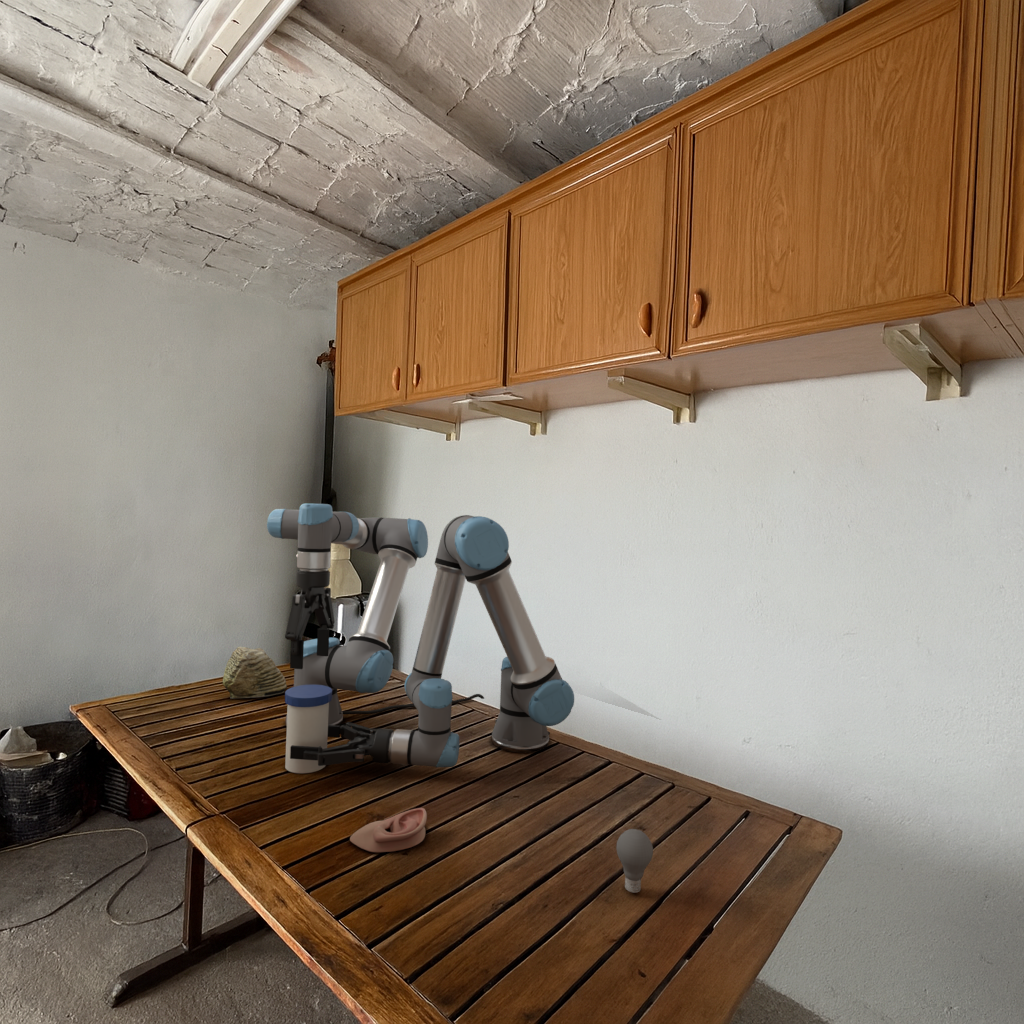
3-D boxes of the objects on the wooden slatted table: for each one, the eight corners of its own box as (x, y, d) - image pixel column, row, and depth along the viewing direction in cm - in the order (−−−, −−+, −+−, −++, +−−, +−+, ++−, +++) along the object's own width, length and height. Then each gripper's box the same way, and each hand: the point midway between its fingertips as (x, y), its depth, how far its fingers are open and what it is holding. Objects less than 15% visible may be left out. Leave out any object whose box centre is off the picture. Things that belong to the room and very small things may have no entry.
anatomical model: (342, 825, 115) (369, 797, 126) (341, 847, 115) (368, 817, 126) (412, 836, 112) (433, 806, 123) (411, 859, 112) (432, 826, 123)
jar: (283, 759, 151) (286, 688, 151) (323, 754, 155) (326, 685, 155) (286, 775, 143) (289, 700, 143) (329, 770, 147) (331, 697, 146)
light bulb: (610, 879, 108) (613, 822, 108) (644, 879, 109) (647, 822, 109) (619, 902, 102) (622, 840, 102) (655, 901, 103) (658, 840, 103)
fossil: (218, 695, 195) (220, 647, 195) (278, 685, 208) (279, 640, 207) (228, 703, 189) (230, 653, 188) (289, 692, 201) (290, 645, 201)
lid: (283, 695, 152) (283, 686, 152) (328, 691, 156) (329, 683, 156) (286, 709, 142) (286, 699, 142) (334, 705, 146) (335, 695, 146)
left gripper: (323, 563, 161) (319, 649, 161) (270, 573, 137) (266, 673, 138) (350, 565, 159) (347, 651, 160) (302, 576, 136) (298, 676, 136)
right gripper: (377, 786, 135) (279, 779, 136) (403, 742, 160) (321, 736, 161) (378, 751, 135) (280, 745, 136) (404, 712, 159) (322, 707, 161)
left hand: (310, 661), depth 149 cm, fingers open, 12 cm apart
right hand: (302, 740), depth 148 cm, fingers open, 13 cm apart
